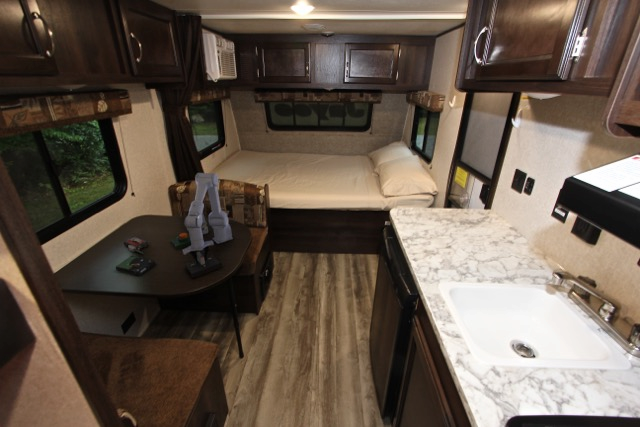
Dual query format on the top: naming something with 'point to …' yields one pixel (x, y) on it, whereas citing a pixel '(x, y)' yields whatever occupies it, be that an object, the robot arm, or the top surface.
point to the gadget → (202, 266)
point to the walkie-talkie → (135, 244)
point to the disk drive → (135, 265)
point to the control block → (181, 242)
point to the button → (183, 235)
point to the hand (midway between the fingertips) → (201, 261)
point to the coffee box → (204, 223)
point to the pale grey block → (200, 258)
